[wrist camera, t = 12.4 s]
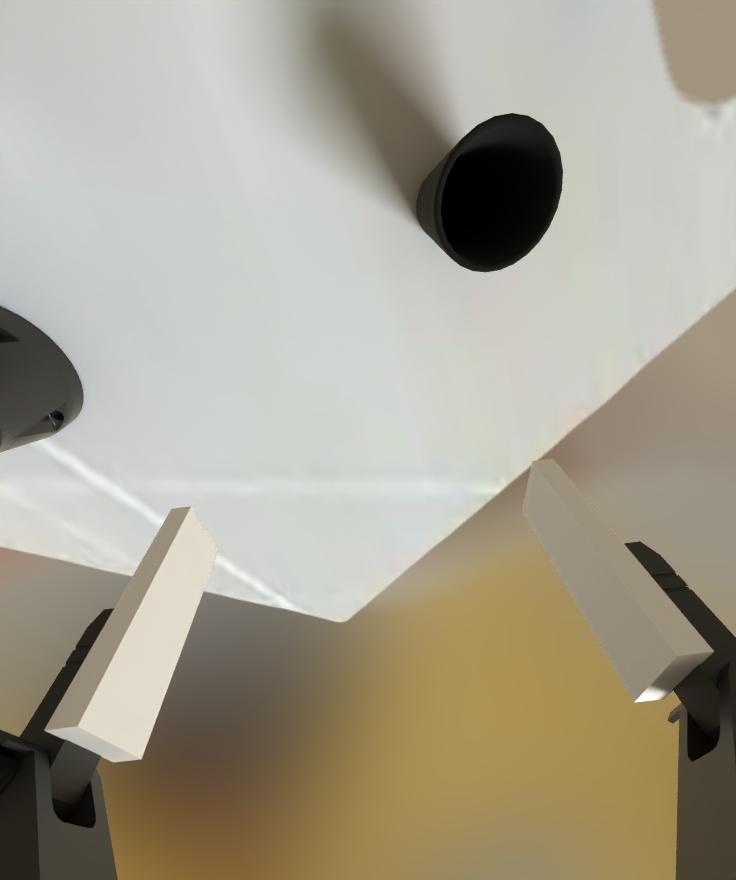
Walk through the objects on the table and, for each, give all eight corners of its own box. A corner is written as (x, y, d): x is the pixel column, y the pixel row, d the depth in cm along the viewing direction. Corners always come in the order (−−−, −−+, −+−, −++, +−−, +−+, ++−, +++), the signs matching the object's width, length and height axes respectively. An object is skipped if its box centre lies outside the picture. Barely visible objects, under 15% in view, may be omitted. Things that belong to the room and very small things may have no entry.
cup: (420, 134, 27) (463, 91, 17) (504, 162, 28) (590, 137, 18) (395, 242, 31) (418, 256, 21) (469, 261, 32) (524, 284, 23)
